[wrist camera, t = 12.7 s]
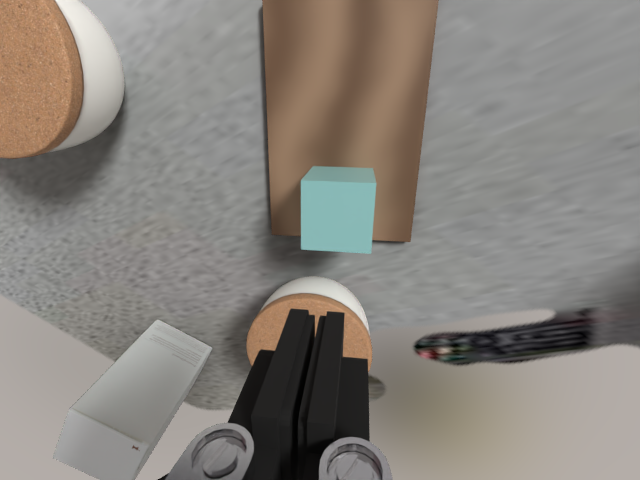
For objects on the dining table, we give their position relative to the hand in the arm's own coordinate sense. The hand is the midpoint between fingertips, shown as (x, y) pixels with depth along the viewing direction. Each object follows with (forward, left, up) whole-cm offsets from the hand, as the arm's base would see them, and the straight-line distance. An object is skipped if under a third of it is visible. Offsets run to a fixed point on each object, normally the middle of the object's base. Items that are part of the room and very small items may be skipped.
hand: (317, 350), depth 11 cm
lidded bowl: (+23, -10, -22) cm, 34 cm away
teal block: (0, 0, -21) cm, 21 cm away
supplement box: (+19, +20, -22) cm, 36 cm away
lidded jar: (+2, +12, -22) cm, 25 cm away
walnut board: (0, -5, -22) cm, 23 cm away
